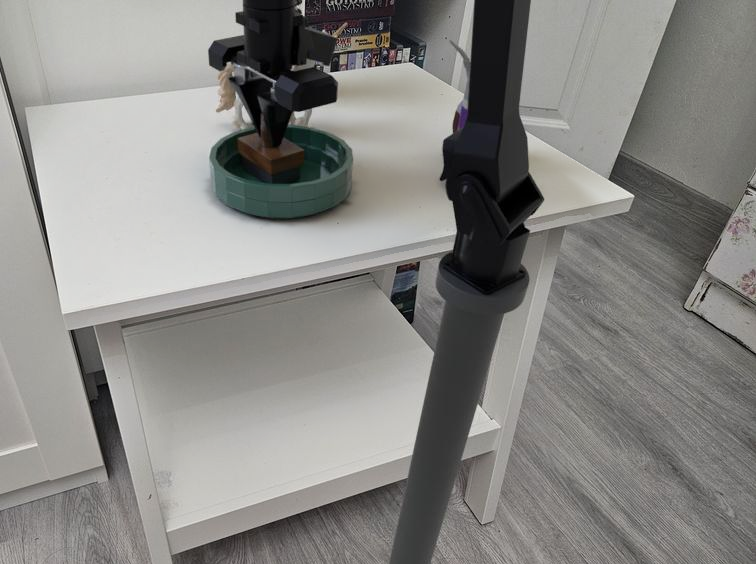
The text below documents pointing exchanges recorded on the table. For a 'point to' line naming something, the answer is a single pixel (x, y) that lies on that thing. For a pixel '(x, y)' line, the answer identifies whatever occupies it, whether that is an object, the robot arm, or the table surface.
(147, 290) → the table surface
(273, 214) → the wash bowl
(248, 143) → the scrub brush
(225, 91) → the unicorn figurine
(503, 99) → the robot arm
